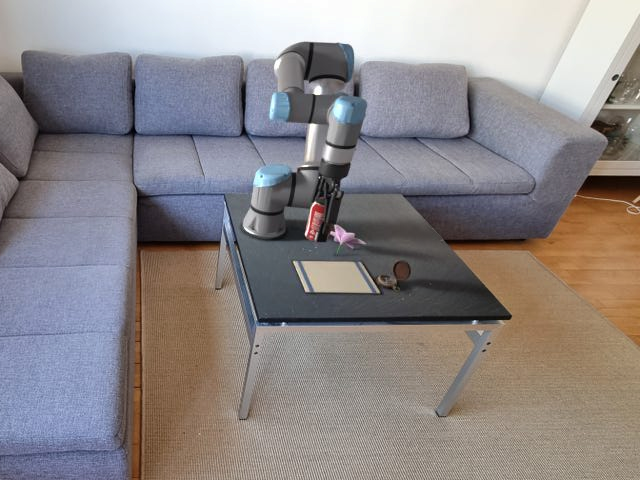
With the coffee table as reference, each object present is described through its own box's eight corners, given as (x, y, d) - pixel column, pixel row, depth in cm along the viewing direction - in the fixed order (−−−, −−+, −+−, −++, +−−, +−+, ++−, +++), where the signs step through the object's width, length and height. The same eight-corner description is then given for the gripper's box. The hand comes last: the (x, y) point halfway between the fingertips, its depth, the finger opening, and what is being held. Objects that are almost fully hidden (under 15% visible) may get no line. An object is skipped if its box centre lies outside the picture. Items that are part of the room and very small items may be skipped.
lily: (364, 262, 146) (373, 234, 144) (340, 256, 140) (350, 227, 139) (335, 254, 156) (344, 227, 155) (312, 248, 150) (321, 221, 149)
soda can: (329, 245, 127) (340, 208, 120) (305, 243, 128) (314, 206, 121) (326, 233, 132) (336, 197, 125) (303, 231, 133) (311, 195, 126)
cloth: (293, 261, 144) (293, 260, 144) (360, 262, 144) (361, 261, 144) (306, 292, 131) (306, 291, 131) (380, 293, 131) (380, 292, 131)
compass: (371, 278, 137) (378, 259, 132) (392, 274, 139) (400, 255, 134) (388, 294, 130) (396, 274, 126) (410, 290, 132) (419, 270, 128)
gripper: (365, 175, 108) (341, 253, 122) (337, 146, 124) (318, 217, 137) (335, 175, 108) (314, 253, 121) (310, 146, 123) (294, 217, 137)
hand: (316, 234), depth 129 cm, fingers closed on soda can, 7 cm apart
